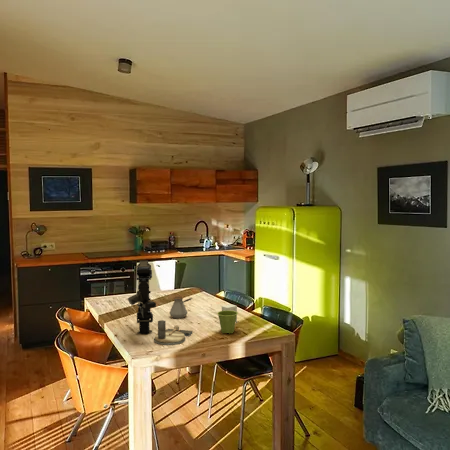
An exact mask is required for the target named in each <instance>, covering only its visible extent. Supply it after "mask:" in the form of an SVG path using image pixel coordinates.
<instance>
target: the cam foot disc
mask: <svg viewBox="0 0 450 450" xmlns="http://www.w3.org/2000/svg"><path fill="white" fill-rule="evenodd" d="M166 326H167V325H166V320H163V319H162V320H157V333H156V334H155V335H154V338H155V340H156V341H158V342H163V343H173V342H179V341H182V340H183V339H184V338H186V336H185V335H184V333H181V332H177V331H176V330H180V326H179V325H178V324H176V325H174V327H173V329H174V330H173V331H166V330H167V329H166Z"/></svg>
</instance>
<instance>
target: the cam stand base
mask: <svg viewBox="0 0 450 450" xmlns="http://www.w3.org/2000/svg"><path fill="white" fill-rule="evenodd" d="M173 330H174V328H167V329H166V331H173ZM176 331H177V332H181V333H184V335H185V338H184V339H183V340H182V341H179V342H173V343H163V342H158V341H156V340H155V337H154V338H153V342H154V343H155V344H157V345H162V346H173V345H174V346H175V345H180V344H182V343H185V341H186V337H190V336H192V335H193V330H187V329H178V330H176ZM191 334H192V335H191Z"/></svg>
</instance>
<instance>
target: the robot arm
mask: <svg viewBox="0 0 450 450" xmlns="http://www.w3.org/2000/svg"><path fill="white" fill-rule="evenodd" d="M152 278H153V270H152V265H151V263H149V260H139V263H138V264H137V265H136V280H135V281H138V285H137V291H136V294H133V295H132V296H129V297H128V298H127V299H128V302H129V303H128V304H129V305H132V306H133V305H136V306H137V307H138V308H137V312H136V324H139V326H138V329H139V331H137V332H136V334H139V335H140V334H141V335H148V334H150V333H151V332H153V330H151V328H150V324H151V323H152V322H154V314H153V312H152V311H151V308H156V307H157V302H155V301H153V300H152V299H151V298H150V294H151V290H150V280H152Z"/></svg>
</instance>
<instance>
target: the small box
mask: <svg viewBox="0 0 450 450" xmlns="http://www.w3.org/2000/svg"><path fill="white" fill-rule="evenodd" d="M227 310H229V311H236V312H238V306H237V305H235V304H227V305H222V306H221V311H227ZM236 323H238V316H237V317H236Z"/></svg>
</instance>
